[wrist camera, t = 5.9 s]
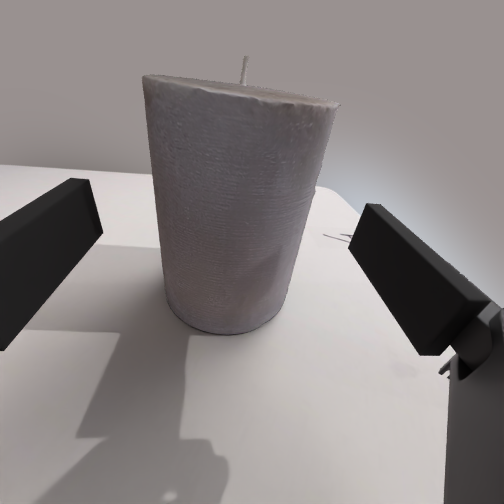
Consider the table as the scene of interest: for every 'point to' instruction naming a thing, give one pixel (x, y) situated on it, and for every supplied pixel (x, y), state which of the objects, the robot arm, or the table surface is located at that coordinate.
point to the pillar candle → (231, 193)
